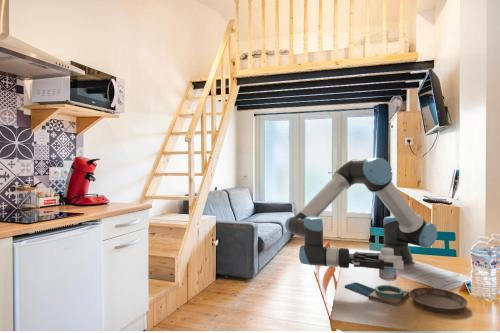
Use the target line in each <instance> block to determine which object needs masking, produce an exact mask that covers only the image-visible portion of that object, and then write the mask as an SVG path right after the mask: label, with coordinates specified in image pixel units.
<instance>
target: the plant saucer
mask: <svg viewBox="0 0 500 333" xmlns="http://www.w3.org/2000/svg"><path fill="white" fill-rule="evenodd" d="M409 297H410V298H411V299H412V301H413V303H415V304H416V305H417V306H418V307H419V308H422V309H423V310H427V311H430V312H433V313H438V314H447V315H449V314H457V313H459V312H462V311H463V310H465V308H466V307H467V305H468V301H467V299H466V298H465V297H464V296H462V295H461V294H459V293H456V292H454V291H450V290H447V289H442V288H435V287H418V288H413V289H411V290H410V291H409Z"/></svg>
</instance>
